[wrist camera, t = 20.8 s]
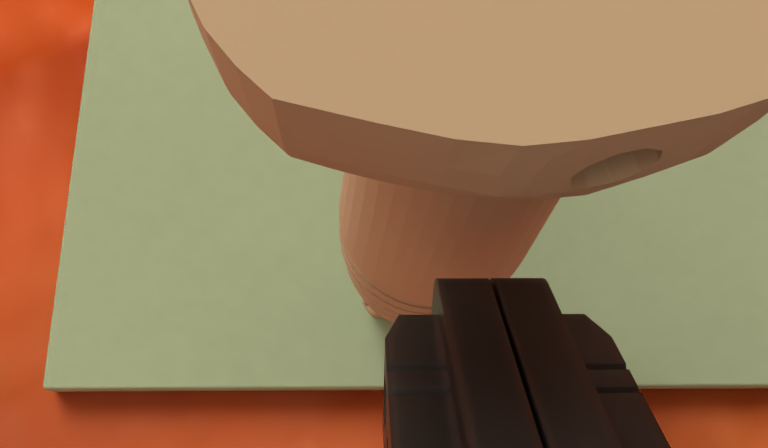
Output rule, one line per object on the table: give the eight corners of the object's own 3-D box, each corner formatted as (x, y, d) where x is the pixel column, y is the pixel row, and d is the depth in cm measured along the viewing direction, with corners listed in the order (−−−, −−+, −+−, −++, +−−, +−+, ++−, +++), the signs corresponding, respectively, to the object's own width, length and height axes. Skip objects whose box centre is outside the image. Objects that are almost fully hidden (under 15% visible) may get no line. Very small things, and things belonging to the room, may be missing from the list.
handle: (546, 338, 20) (1043, 48, 6) (318, 390, 19) (214, 215, 5) (499, 179, 21) (800, -382, 7) (285, 222, 21) (128, -299, 6)
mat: (777, -159, 27) (789, -178, 26) (898, 387, 21) (919, 385, 20) (126, -178, 26) (119, -197, 25) (53, 391, 20) (40, 389, 19)
